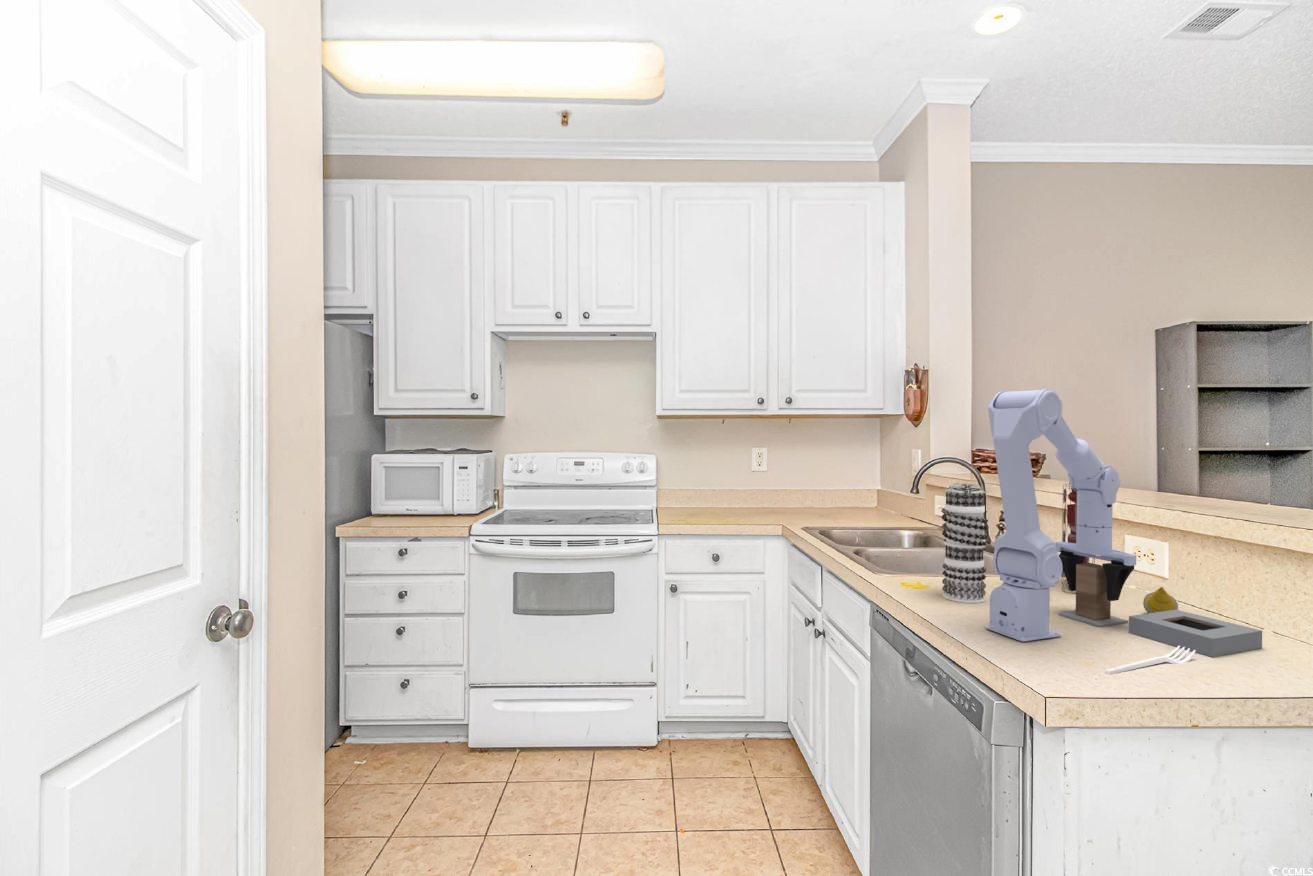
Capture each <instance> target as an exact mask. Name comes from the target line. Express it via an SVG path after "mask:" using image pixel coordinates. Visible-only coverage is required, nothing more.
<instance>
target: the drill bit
mask: <svg viewBox="0 0 1313 876" xmlns="http://www.w3.org/2000/svg"><path fill="white" fill-rule="evenodd" d="M1142 605H1143V608H1144V611H1146V613H1147V614H1148V613H1155V612H1162V611H1170V610H1179V604H1178V602H1177V600H1176V599H1175V598H1174V597H1173V596H1172V595H1170V594H1169V593H1168V592H1167V591H1166V590H1165V588H1164V587H1163V586H1160V587H1159V588H1158V589H1156V590H1155V591H1153V592H1148V593H1147V594H1145V596H1144V597H1143V604H1142Z"/></svg>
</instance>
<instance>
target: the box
mask: <svg viewBox="0 0 1313 876" xmlns="http://www.w3.org/2000/svg"><path fill="white" fill-rule="evenodd" d="M1064 486H1065V485H1063V486H1062V490H1063V496H1062V502H1063V504H1064V507H1063V513H1062V526H1061V527H1062V529H1061V530H1062V531H1061V533H1062V534H1061V535H1062V536H1061V537H1062V538H1061V540H1062V541H1061V542H1066V536H1067V543H1075V544H1076V526H1077V492H1076V491H1074V490H1073V489H1072V488H1071V485H1070V482H1068V484H1067V483H1066V486H1068V489H1069V493H1068V492H1067V488H1064ZM1067 499H1068V500H1069V501H1070V503H1069V504H1067ZM1072 502H1073V503H1072ZM1066 510H1067V511H1066ZM1066 522H1067V524H1066ZM1067 527H1068V528H1069V529H1070V533H1068V534H1067V533H1066V532H1067V529H1068V528H1067ZM1095 560H1096V559H1095V558H1093V560H1092V561H1091V563H1093V564H1096V562H1095ZM1086 563H1090V557H1085V558H1084V561H1083V564H1086ZM1064 577H1065V574H1064V571H1063V569H1062V575H1061V579H1062V581H1064V582H1067V580H1066V579H1065V578H1064ZM1064 582H1061V585H1062V587H1061V591H1062V592H1064V593H1068V594H1070V592H1068V591H1065V590H1063V588H1064V584H1065V583H1064ZM1066 587H1067V589H1068V590H1069V587H1068V585H1066ZM1071 593H1072V594H1073V595H1074V594H1075V595H1076V591H1071Z"/></svg>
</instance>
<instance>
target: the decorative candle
mask: <svg viewBox="0 0 1313 876" xmlns="http://www.w3.org/2000/svg"><path fill="white" fill-rule="evenodd" d="M944 491H945V503H944V507H943V508H941V513H942V515H941V520H942V521H944V523H942V525H941V528H942V529H943V530H942V532H941V534H942V536H943V537H944V539H943V542H942V544H944V545H945V546H944V547H945V549H944V550H945V552H944V554H945V556H944V560H943V561H944V563H943V564H942V568H943V569H944V570H943V571H942V575H943V576H945V577H944V578H943V579H942V580H941V582H942V584H943V586H942V588H941V590H942V591H943V593H942V597H943V598H944V599H947V600H950V601H953V602H958V603H966V604H981V603H984V602H986V597H985V596H986V594H987V592H986V590H985V589H986V587H987V584H986V582H984V580H986V578H987V576H986V575H985V574H984V573H986V571H987V568H986V567H984V566H985V559H984V548H986V546H987V543H986V542H985V541H984V540H987V538H988V536H987V535H986V534H984V531H986V530H988V529H989V528H988V526H986V525H985V524H987V523H989V521H988V519H987V518H985V517H984V515H985V514H986V513H987V510H986V509H985V507H986V506H985V493H987V492H986V491H985V490H983V488H982V487H981V486H980V485H979V484H976V483H961V482H960V483H958V482H957V483H952V484H950V485H949V487H948V489H945V490H944Z"/></svg>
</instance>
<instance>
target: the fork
mask: <svg viewBox="0 0 1313 876" xmlns="http://www.w3.org/2000/svg"><path fill="white" fill-rule="evenodd" d="M1179 649H1180V650H1179ZM1178 650H1179V651H1178ZM1184 650H1185V651H1184ZM1195 651H1196V650H1194V651H1191V653H1190V654H1189V655H1188V653H1189V652H1190V648H1188V649H1187V650H1186V649H1185V647H1183V648H1180V646H1178V647H1175V648H1174V649H1172V650H1171V651H1170V652H1169V653H1166V654H1165V655H1159V656H1158V655H1157V656H1155V657H1150V658H1147V659H1143V660H1139V661H1134V662H1130V663H1127V664H1122V665H1119V666H1116V667H1112V668H1108V669H1105V671H1104V674H1107V675H1110V676H1111V675H1114V674H1119V673H1122V672H1127V671H1128V672H1129V671H1130V670H1136V669H1140V668H1144V667H1149V666H1153V665H1157V664H1162V663H1169V664H1172V665H1180V664H1186V663H1189V662H1190V661H1192V658H1193V657H1194V655H1195V653H1196V652H1195ZM1186 655H1187V656H1186ZM1185 656H1186V657H1185Z"/></svg>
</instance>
